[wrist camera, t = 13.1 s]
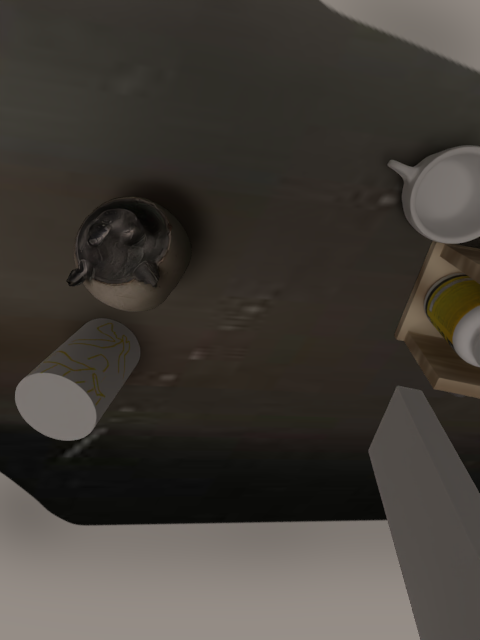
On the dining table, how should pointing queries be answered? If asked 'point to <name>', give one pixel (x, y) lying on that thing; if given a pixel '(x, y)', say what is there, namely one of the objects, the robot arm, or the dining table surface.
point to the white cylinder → (78, 380)
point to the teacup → (443, 194)
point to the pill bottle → (457, 314)
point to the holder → (423, 336)
